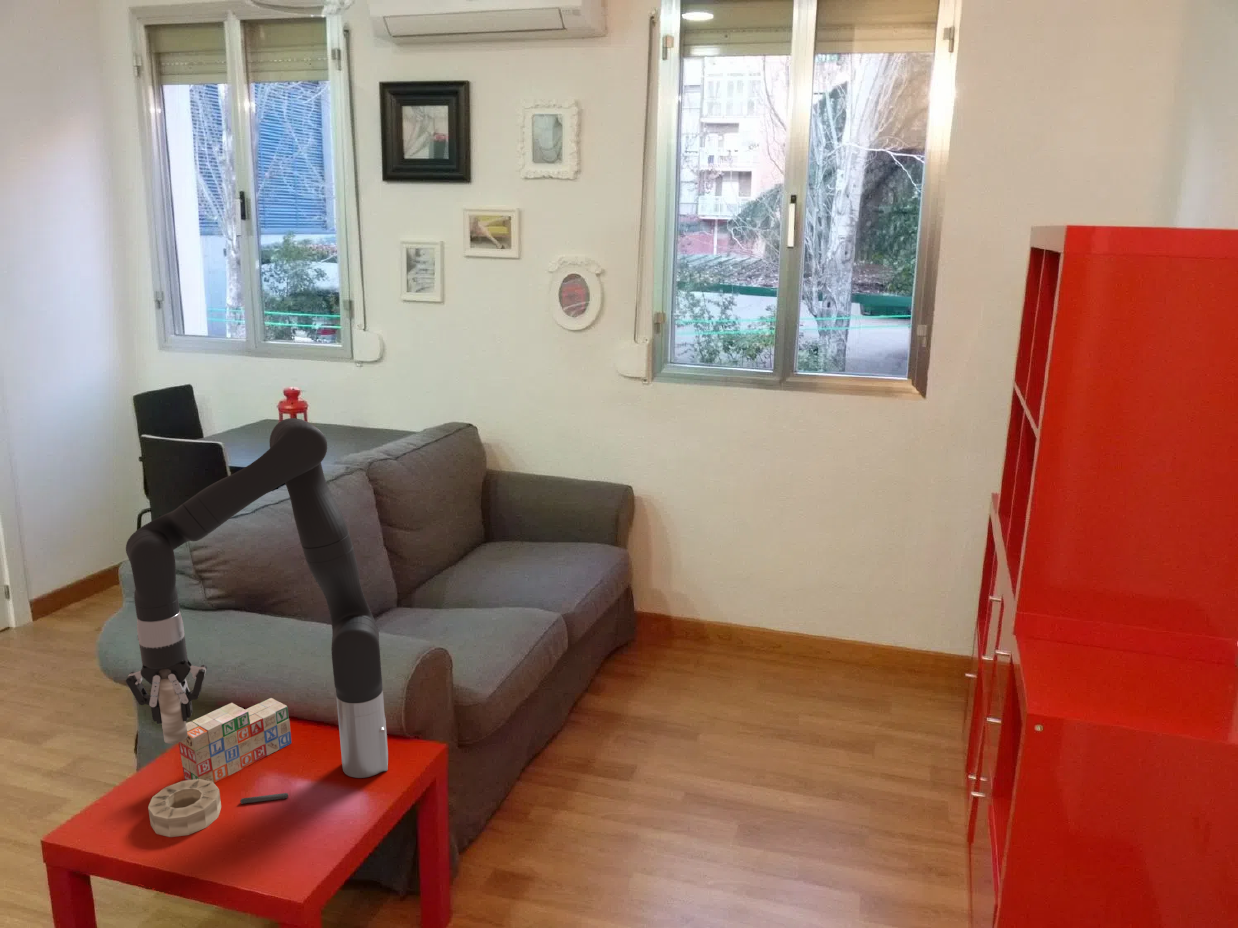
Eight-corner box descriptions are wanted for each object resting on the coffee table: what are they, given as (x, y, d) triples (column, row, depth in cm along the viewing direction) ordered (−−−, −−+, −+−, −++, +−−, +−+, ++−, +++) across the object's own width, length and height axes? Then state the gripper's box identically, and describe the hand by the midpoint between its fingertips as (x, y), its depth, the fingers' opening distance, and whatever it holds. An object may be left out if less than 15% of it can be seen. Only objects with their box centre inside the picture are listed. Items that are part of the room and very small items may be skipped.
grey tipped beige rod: (189, 730, 178) (179, 657, 174) (185, 742, 174) (174, 667, 170) (167, 733, 177) (156, 659, 173) (162, 744, 173) (151, 669, 169)
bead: (225, 793, 187) (223, 775, 186) (213, 831, 176) (211, 813, 175) (160, 801, 185) (158, 783, 183) (144, 840, 173) (141, 821, 172)
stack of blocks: (275, 734, 208) (270, 684, 205) (292, 743, 205) (287, 693, 201) (183, 779, 192) (175, 726, 188) (199, 790, 188) (192, 736, 185)
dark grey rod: (288, 795, 186) (288, 791, 186) (288, 798, 185) (287, 794, 185) (241, 801, 185) (240, 797, 184) (240, 804, 184) (239, 800, 183)
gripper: (207, 624, 175) (217, 705, 180) (125, 631, 172) (137, 714, 177) (199, 641, 168) (210, 726, 173) (113, 649, 165) (126, 735, 170)
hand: (173, 719), depth 175 cm, fingers closed on grey tipped beige rod, 4 cm apart
